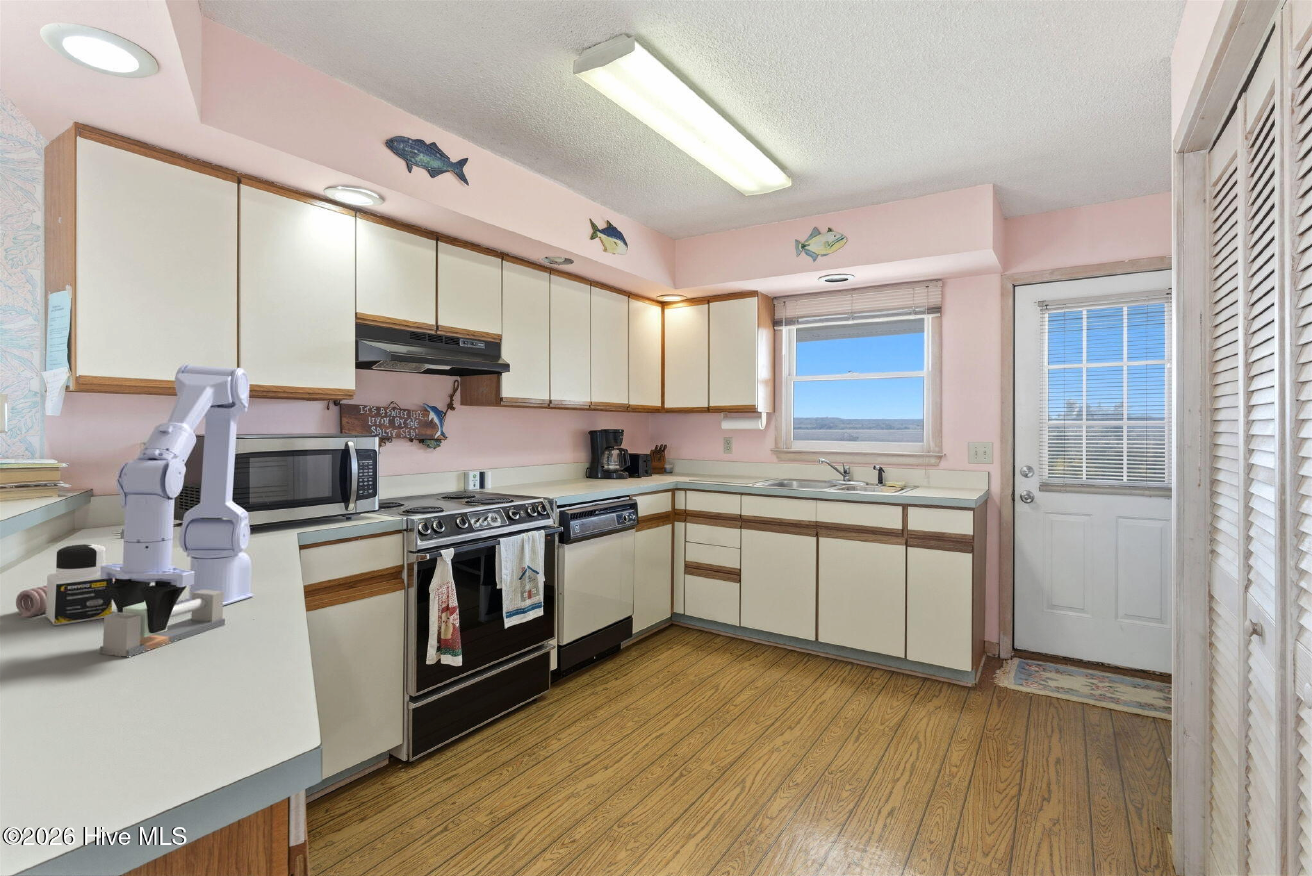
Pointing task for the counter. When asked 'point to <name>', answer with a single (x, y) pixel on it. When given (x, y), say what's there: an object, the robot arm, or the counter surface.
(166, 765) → the counter surface
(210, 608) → the rod with sliding collar
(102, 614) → the medicine bottle
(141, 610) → the sleeve
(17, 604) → the coil
